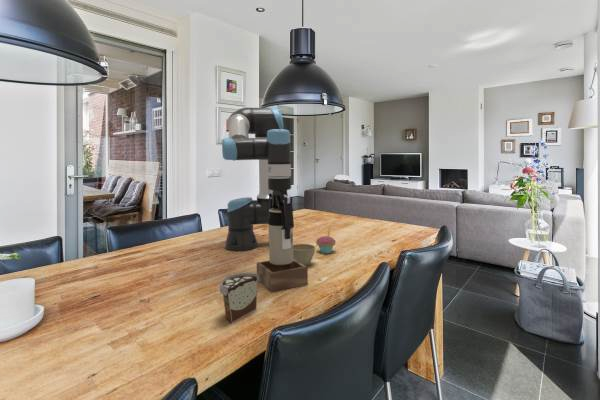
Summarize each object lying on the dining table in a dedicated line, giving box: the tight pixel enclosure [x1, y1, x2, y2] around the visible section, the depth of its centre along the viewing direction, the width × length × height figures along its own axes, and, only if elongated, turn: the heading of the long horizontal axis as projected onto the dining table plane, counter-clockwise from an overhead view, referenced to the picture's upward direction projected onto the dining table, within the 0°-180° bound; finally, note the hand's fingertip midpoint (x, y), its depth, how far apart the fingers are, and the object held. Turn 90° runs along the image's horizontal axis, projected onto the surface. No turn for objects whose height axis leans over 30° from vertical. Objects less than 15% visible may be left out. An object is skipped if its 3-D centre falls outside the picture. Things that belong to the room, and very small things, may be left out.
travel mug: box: [267, 208, 294, 265], centre depth 110 cm, size 8×8×18 cm
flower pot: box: [293, 243, 316, 267], centre depth 130 cm, size 10×10×7 cm
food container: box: [219, 272, 260, 324], centre depth 89 cm, size 12×6×10 cm, turn 145°
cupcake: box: [315, 226, 336, 254], centre depth 146 cm, size 9×8×12 cm
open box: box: [256, 259, 309, 293], centre depth 112 cm, size 13×13×6 cm
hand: (281, 245), depth 111 cm, fingers closed on travel mug, 8 cm apart
